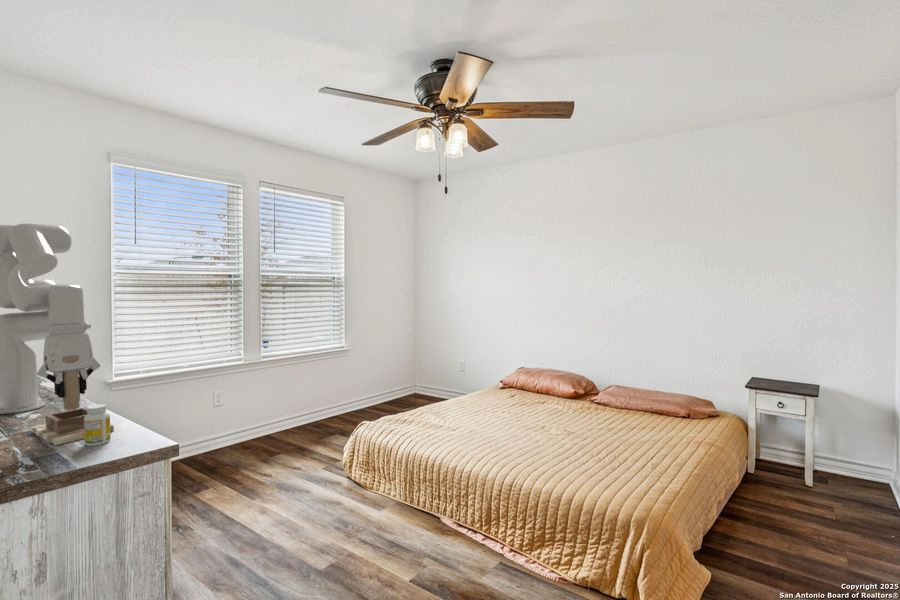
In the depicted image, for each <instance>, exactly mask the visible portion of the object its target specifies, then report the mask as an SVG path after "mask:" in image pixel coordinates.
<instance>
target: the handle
mask: <svg viewBox="0 0 900 600" xmlns="http://www.w3.org/2000/svg"><path fill="white" fill-rule="evenodd" d="M78 360H79V356H71V357H62V362H65V363H74V362H76V361H78ZM61 381H62V383H64V397H63V398H62V402H63V404H64V405H63V407H64V408H63V409H64V410H65V411H69V410H74V409H79V408H80V405H81V403H80V399H81V394H80V383H79V374H78V370H70V371H65V372H63V374H62V379H61Z"/></svg>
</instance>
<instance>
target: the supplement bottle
mask: <svg viewBox="0 0 900 600" xmlns="http://www.w3.org/2000/svg"><path fill="white" fill-rule="evenodd" d="M86 408H87V413H88V415H86V416H85V418H84V431H85V438H84V445H85V446H88V447H94V446H95V447H96V446H101V445H104V444H107V443H109V442H110V441H111V432H110V424H111V414H110V413H109V412H107V405H106V404H104V403H102V404H101V403H99V404H98V403H97V404H92V405H90V406H87V407H86Z"/></svg>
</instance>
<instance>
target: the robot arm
mask: <svg viewBox="0 0 900 600" xmlns="http://www.w3.org/2000/svg"><path fill="white" fill-rule="evenodd" d="M72 243H73V242H72V237H71V234H70V233H69V231H68V230H67V229H66V228H65V227H63V226H61V225H57V224H56V225H53V224H42V223H41V224H38V223H20V224H15V225H12V224H10V225H9V224H0V308H2V309H7V310H8V309H10V310H14V309H17V310H19V311H21V312H8V313H3V314H0V415H8V414H17V413H22V412H28V411H32V410H36V409H40V408H42V407H44V406H46V401H44V400H41V399H40V398H39V386H38V376H39V377H41V378H44V379H47V380H49V381H50V382H52V383H53V384H54V386H53V387H54V394H55V396H57V397H58V398H59V399H63V397H64V383H62V374H63V372H65V371H70V370H78V376H79V383H80V395H85V394H86V391H87V388H88V387H87V379H89V376H90V375H92V374H93V372H95V371H96V370H97V369H99V368H100V367H101V364H100V363H99V361H97V360H96V359H95V358H94V353H93V346H92V343H91V339H90V336H89V333H88V332H87V330H88V329H91V328H92V324H91V323H86V321H85V306H84V304H85V303H84V290H83V288H82V287H81V286H80V285H77V284H68V283H65V284H64V283H60V284H59V283H57V284H56V283H55V281H53V280H50V279H43V278H42V279H41V278H40V279H39V278H38V279H36V278H37V277H40V276H43V275H46V274H48V273H50V272H52V271H53V270H55V269H56V268H57V266H58V263H59V262H58V261H59V260H58V258H57V256H56V254H63V253H67V252H68V251H69V250H70V249H71V247H72ZM39 340H40V341H42V340H44V344H43V357H42V358H43V361H42V362H43V363H42V365H41V366H40V368H39V369H38V367H37V365H38V364H37V355H36V352H35V351H34V350H33V348H31V347H30V346H28V345H27V344H26V343H25V342H30V341H39ZM71 356H79V360H78V361H76V362H74V363H65V362H62V357H71ZM37 369H38V370H37ZM47 372H50V373H52V374H50V373H47Z"/></svg>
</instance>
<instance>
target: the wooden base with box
mask: <svg viewBox="0 0 900 600" xmlns="http://www.w3.org/2000/svg"><path fill="white" fill-rule="evenodd" d="M86 415H88V413H87V407H85V406H84V407H81V408H80V407H79V408H76V409H73V410H65V411H60V412H55V413H51V414H45V424H41V425H40V424H39V425H36V426H32V427H31V430H32V433H33V434H34V433H35V434H34V435H36V434H37V435H36V436H38V435H39V436H41V437H43V438H45V439H46V440H48V441H50V442H51V443H53V444H54V445H53V444H52V445H53V446H57V444H59V445H62V443H63V444H66V442H67V443H71V442H74V440H75V441H79V440H83V439H85V431H84V418H85V416H86ZM113 430H114V431H115V428H114V425H113V424H111V423H110V431H111V432H114V431H113ZM39 436H38V437H39ZM41 437H40V438H41ZM43 438H42V439H43ZM82 438H83V439H82ZM45 439H44V440H45ZM78 439H79V440H78ZM46 440H45V441H46ZM48 441H47V442H48ZM70 441H71V442H70ZM50 442H49V443H50ZM51 443H50V444H51Z"/></svg>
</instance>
